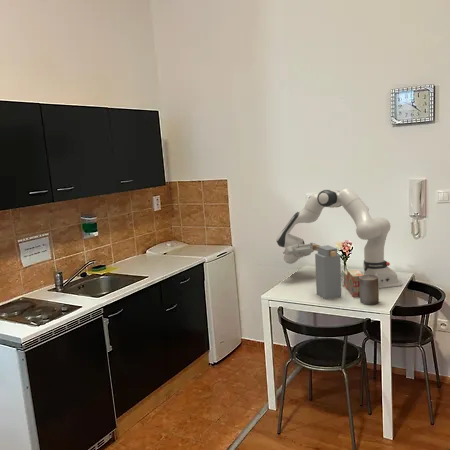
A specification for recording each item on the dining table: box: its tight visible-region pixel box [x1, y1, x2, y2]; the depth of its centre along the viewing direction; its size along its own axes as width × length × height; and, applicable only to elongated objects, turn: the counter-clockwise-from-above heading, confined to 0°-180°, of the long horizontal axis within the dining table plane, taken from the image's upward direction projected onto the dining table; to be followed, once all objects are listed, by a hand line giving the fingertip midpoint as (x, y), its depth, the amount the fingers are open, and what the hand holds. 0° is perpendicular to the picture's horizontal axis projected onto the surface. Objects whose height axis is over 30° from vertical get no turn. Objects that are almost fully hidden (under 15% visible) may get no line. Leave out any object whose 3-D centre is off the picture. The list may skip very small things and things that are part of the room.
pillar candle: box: [359, 274, 380, 306], centre depth 238 cm, size 10×10×15 cm
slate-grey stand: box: [314, 245, 342, 300], centre depth 251 cm, size 10×10×28 cm
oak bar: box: [312, 243, 336, 257], centre depth 253 cm, size 22×3×3 cm, turn 17°
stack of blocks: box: [342, 269, 364, 298], centre depth 258 cm, size 21×6×12 cm, turn 0°
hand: (305, 244), depth 275 cm, fingers open, 8 cm apart
